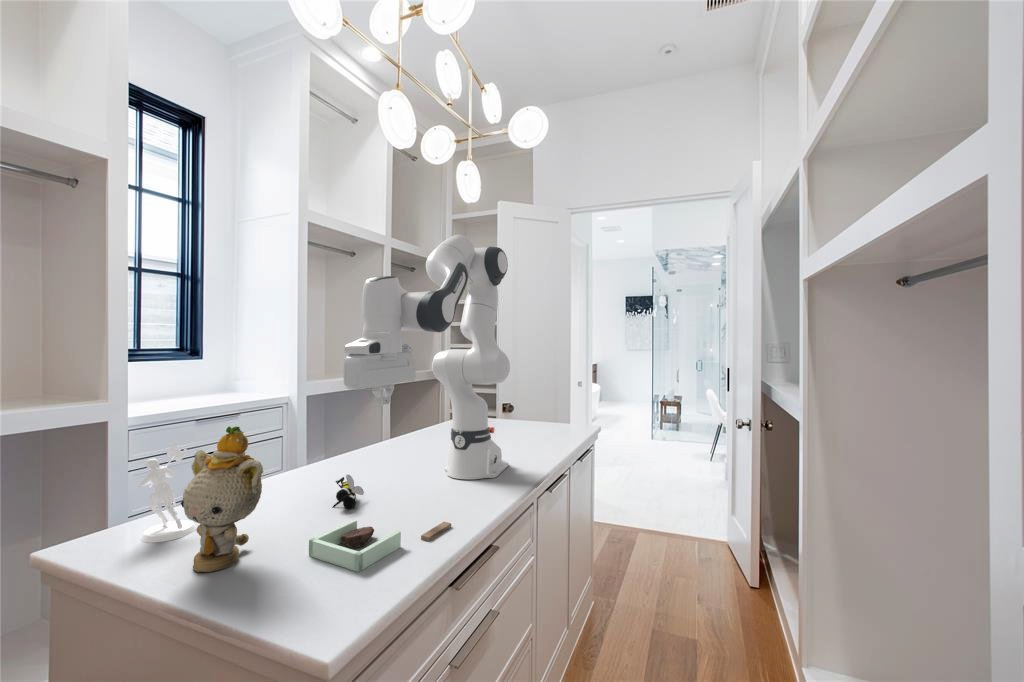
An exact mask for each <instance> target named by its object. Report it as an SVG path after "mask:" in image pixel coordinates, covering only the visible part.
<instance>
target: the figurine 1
mask: <svg viewBox="0 0 1024 682" xmlns="http://www.w3.org/2000/svg"><path fill="white" fill-rule="evenodd" d="M179 446H180V445H179V444H178V443H175V444H173V445H171V447H170V448H169V449H168V450H167V452H166V457H167V458H170V457H171V455H173V456H172V457H171V458H170V459H169V461H168V462H167V464H166V465H163V466H161V464H160V462H159V459H157V458H150V459H147V460H146V465H145V467H146V469H147V470H151V471H150V472H148V473H146V474H145V476H144V478H142V480H141V481H140V482H139V483H138V484H137V487H140V488H142V487H145V486H148V489H150V488H152V486H153V485H154V486H153V487H154V488H153V491H152V493H151V494H150V496H149V503H148V504H149V506H148V509H149V510H151V511H153V512H154V513H155V514H156V515H157V517H159V518H160V519H161V521H162V523H159V524H156V525H153V526H151V527H149V528H148V529H146V530H144V532H143V534H142V535H141V536H140V541H141V542H143V543H147V544H149V543H152V544H153V543H155V544H156V543H162V542H168V541H172V540H176V539H179V538H182V537H185V536H188V535H190V534H192V533H193V532H194V531H196V529H197V526H196V524H195V522H194V521H193V520H189V519H188V520H185V519H184V520H183V519H180V518H179V515H178V512H177V511H176V509H175V508H174V507H176V506H177V505H176V504H177V503H176V499H175V493H174V489H173V487H172V486H170V483H169V482H167V480H165V479H166V478H169V479H172V478H174V477H175V472H174V471H173V470H171V469H169V467H168V466H169V465H170V464H171V463H172V461H173V460H174V459H175V457H177V458H176V459H175V461H176V462H180V461H182V460H183V459H184V458H185V456H186V455H187V453H188V449H187V448H184V449H183V451H182V450H181V448H179V449H178V448H177V447H179ZM163 506H164V508H165V509H166V511H167V512H168V514H169V515H170V516H171V517H172V518H173V520H174V521H172V520H171V521H170V520H169V518H167V517H166V515H165V513H164V511H163V510H162V509H163ZM172 506H173V507H172Z"/></svg>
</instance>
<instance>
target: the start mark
mask: <svg viewBox="0 0 1024 682" xmlns="http://www.w3.org/2000/svg"><path fill="white" fill-rule="evenodd" d="M451 527H452V523H451V522H447V521H442V522H441V523H440V524H438V525H436V526H434V527H433V528H431V529H430V530H428V531H426V532H424V533H423V534H421V535H420V540H423V541H426V542H429V541H431V540H433V539H435V538H436V537H438V536H439V535H441V534H442V533H444V532H446V531H447V530H448V529H450V528H451Z"/></svg>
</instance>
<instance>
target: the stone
mask: <svg viewBox="0 0 1024 682" xmlns="http://www.w3.org/2000/svg"><path fill="white" fill-rule="evenodd" d="M374 532H375V528H374V527H373V526H365V527H364V526H363V527H359V528H357V529H356V530H353V531H351V532H349V533H347V534H345V535H343V536H341V539H340V540H341V541H342V542H341V543H343V545H346V546H347V547H350V548H353V549H356V548H359V547H364V546H366V545H367V544H368V543H369V542H370V540H371V539H372V536H373V535H374Z"/></svg>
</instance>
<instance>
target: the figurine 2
mask: <svg viewBox="0 0 1024 682" xmlns="http://www.w3.org/2000/svg"><path fill="white" fill-rule="evenodd" d="M225 432H226V434H224V435H223V436H222V437H221V438H219V440H218V441H217V445H216V446H217V447H216V448H217V449H216V450H214V451H213V453H212V454H213V455H211V454H209V453H207V452H206V451H205V450H202V449H198V450H197V451H196V452H195V453H194V460H193V462H192V464H191V470H192V473H193V475H194V477H192V479H191V480H190V481H189V483H188V485H187V486H186V487H185V488H184V490H183V493H182V501H181V502H180V504H181V507H182V508H183V511H184V514H185V516H186V517H187V519H188V520H189V521H192V522H193V523H197V524H199V525H197V526H196V529H195V531H196V533H197V534H198V536H199V537H200V539H199V540H200V541H199V542H200V548H199V551H198V552H197V553H196V554H195V555H194V557H193V565H192V569H193V570H194V571H195V572H197V573H198V572H199V573H210V572H216V571H220V570H224V569H228V568H230V567H232V566H234V565H236V564H237V563H238V562H239V560H240V558H239V557H240V556H239V553H240V549H239V548H238V546H240V547H241V546H244V545H245V544H247V543H248V541H249V538H250V537H249V535H248V534H247V533H242V534H240V535H239V534H238V528H237V526H236V524H235V523H237V522H239V521H241V520H245V519H246V518H247V517H248V516H249V515H251V514H252V513H253V512H254V511H255V509H256V508H257V505H258V504H259V502H260V499H261V496H262V493H263V489H262V488H263V483H262V474H264V468H263V465H262V463H261V461H259V460H256V459H255V458H253V457H251V455H249V454H246V451H247V449H248V448H249V439H248V436H246V434H244V431H242V430H241V428H240V426H233V427H231V426H227V428H226V430H225Z"/></svg>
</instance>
